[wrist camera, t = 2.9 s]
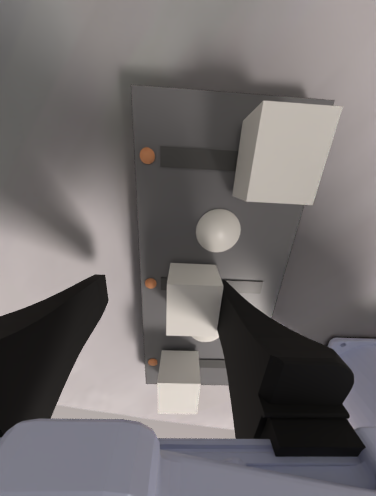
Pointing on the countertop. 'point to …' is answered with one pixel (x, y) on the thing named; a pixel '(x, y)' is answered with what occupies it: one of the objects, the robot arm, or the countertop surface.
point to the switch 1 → (193, 300)
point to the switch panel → (202, 211)
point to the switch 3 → (284, 152)
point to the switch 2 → (178, 382)
